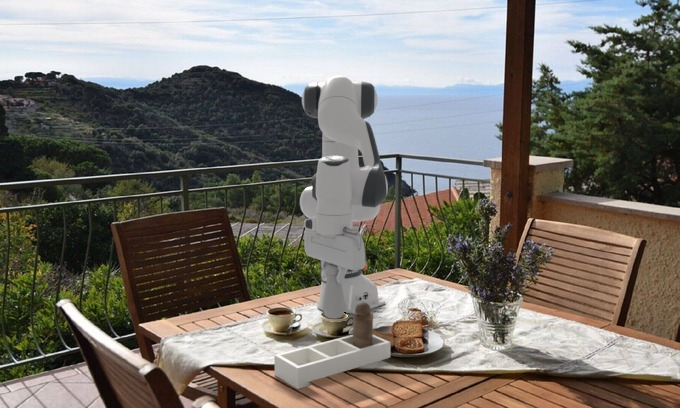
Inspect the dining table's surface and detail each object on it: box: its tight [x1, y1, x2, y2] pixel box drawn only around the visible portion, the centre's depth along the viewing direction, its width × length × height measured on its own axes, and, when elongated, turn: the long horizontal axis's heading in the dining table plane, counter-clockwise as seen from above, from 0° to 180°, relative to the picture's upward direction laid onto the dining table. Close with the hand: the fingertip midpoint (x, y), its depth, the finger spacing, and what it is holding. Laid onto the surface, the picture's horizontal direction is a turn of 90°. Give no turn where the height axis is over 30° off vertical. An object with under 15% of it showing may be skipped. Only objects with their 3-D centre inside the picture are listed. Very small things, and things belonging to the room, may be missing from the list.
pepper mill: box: [352, 302, 374, 349], centre depth 169 cm, size 5×5×14 cm
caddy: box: [273, 334, 392, 390], centre depth 165 cm, size 28×10×5 cm, turn 127°
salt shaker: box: [322, 263, 346, 320], centre depth 162 cm, size 6×6×13 cm
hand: (334, 280), depth 162 cm, fingers closed on salt shaker, 3 cm apart
